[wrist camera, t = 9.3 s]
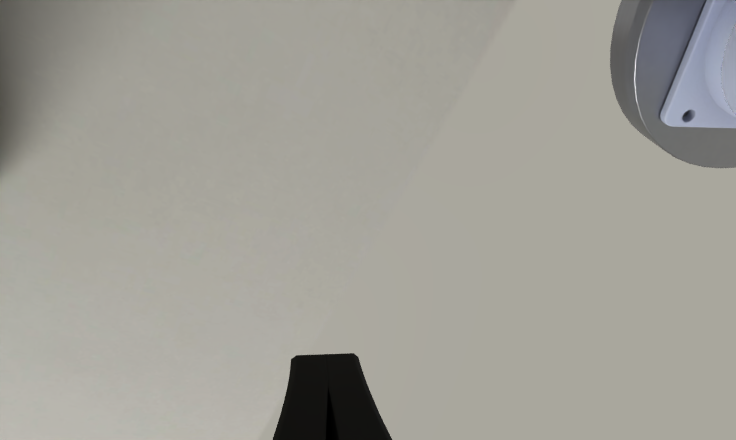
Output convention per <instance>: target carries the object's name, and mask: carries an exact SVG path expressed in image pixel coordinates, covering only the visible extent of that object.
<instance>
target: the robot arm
mask: <svg viewBox="0 0 736 440" xmlns="http://www.w3.org/2000/svg"><path fill="white" fill-rule="evenodd" d="M688 110H689V112H688V114H687V115H686V116H685V117H683V115H684V113H685V112H686V111H688ZM682 117H683V118H682ZM660 118H661V121H662V122H663V123H665V124H666V125H668V126H671V127H706V128H736V0H707V1H706V3H705V6H704V8H703V10H702V13H701V15H700V18H699V20H698V23H697V25H696V28H695V30H694V32H693V35H692V37H691V40H690V42H689V45H688V47H687V50H686V52H685V54H684V57H683V59H682V62H681V64H680V67H679V69H678V72H677V74H676V76H675V79H674V81H673V84H672V86H671V89H670V91H669V94H668V96H667V98H666V101H665V103H664V106H663V108H662V111H661V114H660ZM273 440H392V438H391V437H390V434H389V433H388V430H387V429H386V426H385V424H384V423H383V420H382V418H381V416H380V414H379V412H378V409H377V407H376V405H375V402H374V400H373V398H372V395H371V393H370V391H369V388H368V386H367V383H366V380H365V377H364V375H363V372H362V369H361V365H360V362H359V358H358V357H357V356H356V355H355V354H352V353H350V354H324V355H298V356H295V357H294V358H293V359H291V369H290V376H289V382H288V387H287V392H286V396H285V400H284V404H283V407H282V412H281V415H280V418H279V422H278V424H277V428H276V431H275V434H274V437H273Z"/></svg>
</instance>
